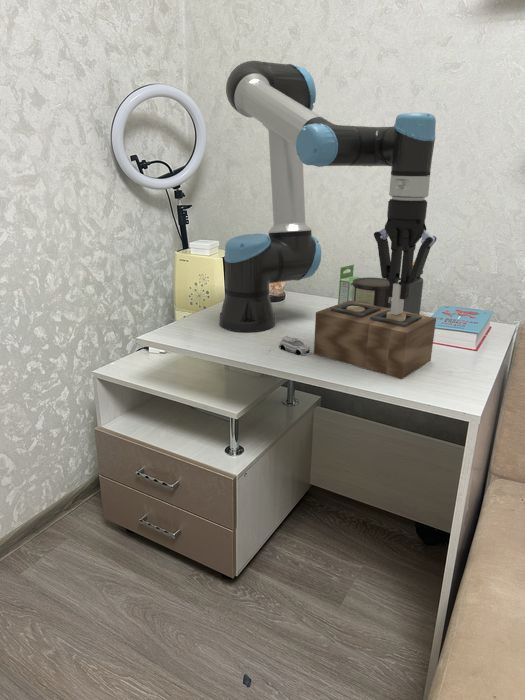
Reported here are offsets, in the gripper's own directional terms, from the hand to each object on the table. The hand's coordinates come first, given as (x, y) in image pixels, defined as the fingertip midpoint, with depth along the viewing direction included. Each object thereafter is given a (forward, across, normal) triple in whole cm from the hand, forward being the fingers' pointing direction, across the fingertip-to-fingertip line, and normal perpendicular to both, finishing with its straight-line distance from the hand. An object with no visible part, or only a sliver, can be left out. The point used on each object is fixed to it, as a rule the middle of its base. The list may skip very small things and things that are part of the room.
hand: (396, 312), depth 112 cm
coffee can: (+12, -13, +13) cm, 22 cm away
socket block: (+11, -5, 0) cm, 12 cm away
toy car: (+12, -21, -8) cm, 25 cm away
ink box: (+12, -29, +29) cm, 42 cm away
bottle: (+12, -14, +38) cm, 42 cm away
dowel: (+9, 0, 0) cm, 9 cm away
